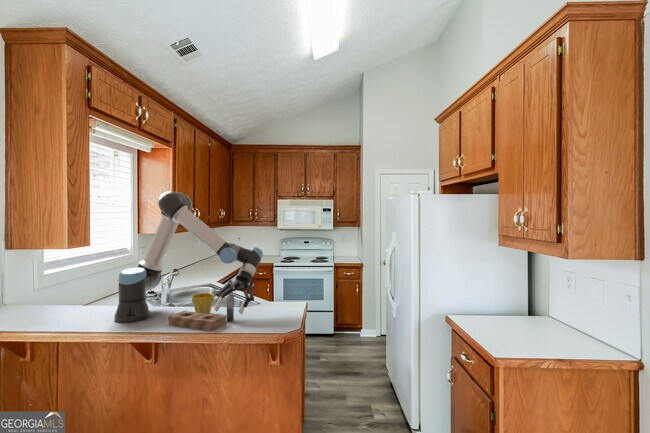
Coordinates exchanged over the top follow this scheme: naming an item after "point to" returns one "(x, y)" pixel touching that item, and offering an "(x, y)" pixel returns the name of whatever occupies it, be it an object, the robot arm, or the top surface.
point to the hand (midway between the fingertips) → (227, 311)
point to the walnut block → (197, 320)
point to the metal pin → (230, 308)
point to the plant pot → (203, 302)
